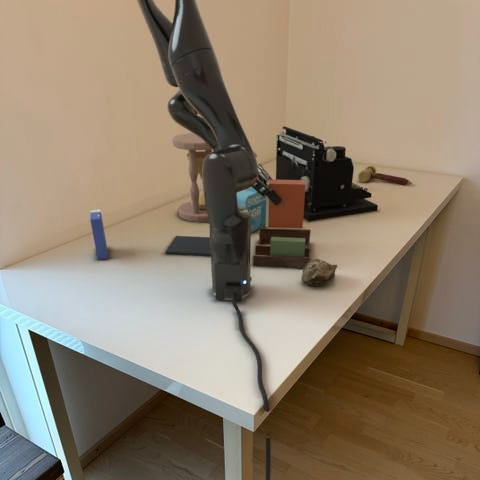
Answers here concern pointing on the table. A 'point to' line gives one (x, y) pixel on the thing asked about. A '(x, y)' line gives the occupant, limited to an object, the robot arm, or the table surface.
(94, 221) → the walkman
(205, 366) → the table surface
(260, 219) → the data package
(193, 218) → the hourglass
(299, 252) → the paperback
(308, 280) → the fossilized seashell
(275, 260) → the book rack
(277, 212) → the book
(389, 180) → the gavel
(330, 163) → the typewriter
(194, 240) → the slate mat
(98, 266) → the table surface
